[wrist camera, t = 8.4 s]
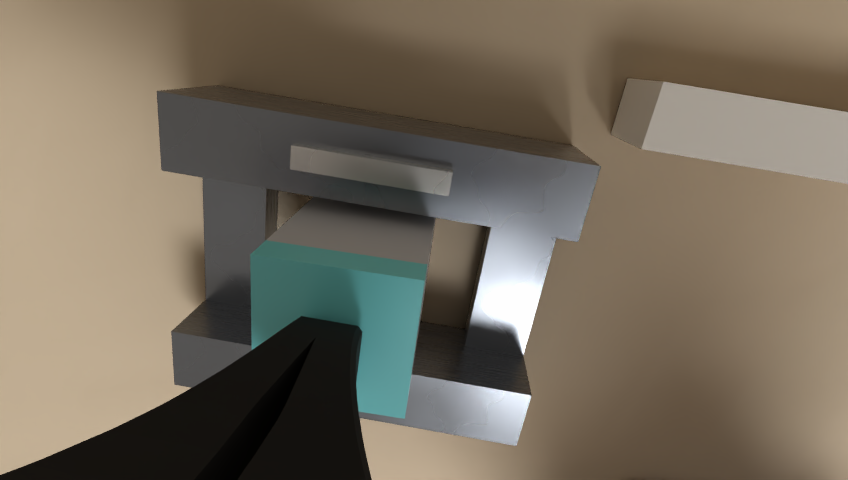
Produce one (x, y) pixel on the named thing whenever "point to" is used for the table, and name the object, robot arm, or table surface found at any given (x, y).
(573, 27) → the table surface
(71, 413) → the table surface
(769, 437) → the table surface
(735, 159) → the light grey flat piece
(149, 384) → the table surface
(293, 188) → the port
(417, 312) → the plug
